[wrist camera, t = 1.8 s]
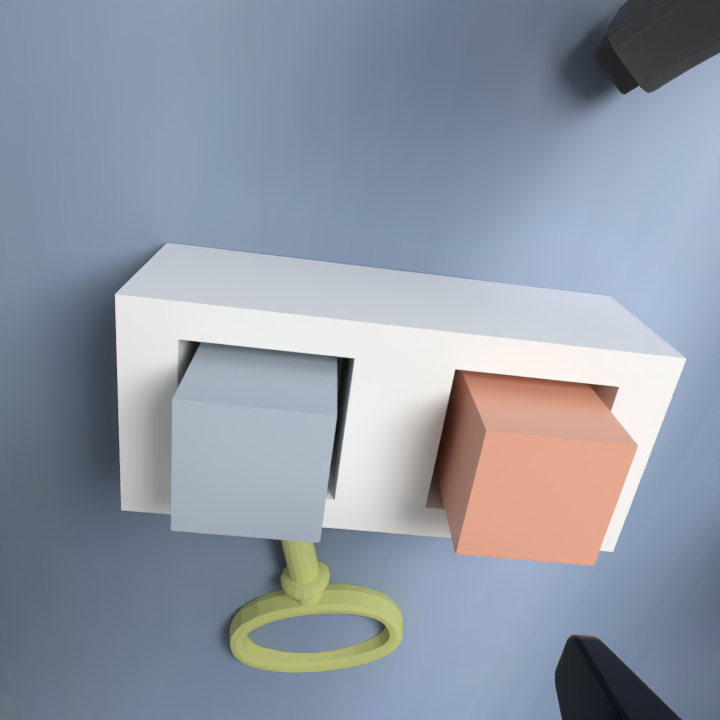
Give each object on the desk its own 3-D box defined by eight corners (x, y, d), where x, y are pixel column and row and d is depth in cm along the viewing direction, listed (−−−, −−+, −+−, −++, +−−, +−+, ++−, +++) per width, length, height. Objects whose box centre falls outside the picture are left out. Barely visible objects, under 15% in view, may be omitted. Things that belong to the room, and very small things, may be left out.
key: (289, 409, 23) (284, 441, 21) (417, 630, 28) (423, 672, 26) (119, 480, 24) (100, 516, 22) (271, 680, 29) (266, 724, 27)
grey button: (323, 442, 20) (320, 543, 15) (207, 431, 19) (170, 530, 15) (337, 336, 18) (337, 415, 14) (211, 322, 18) (172, 399, 14)
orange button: (540, 463, 20) (593, 565, 16) (430, 452, 20) (455, 554, 16) (570, 362, 19) (638, 445, 14) (452, 349, 18) (486, 430, 14)
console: (559, 458, 23) (613, 551, 19) (165, 420, 22) (121, 510, 18) (609, 296, 21) (686, 358, 16) (166, 242, 19) (114, 294, 15)
